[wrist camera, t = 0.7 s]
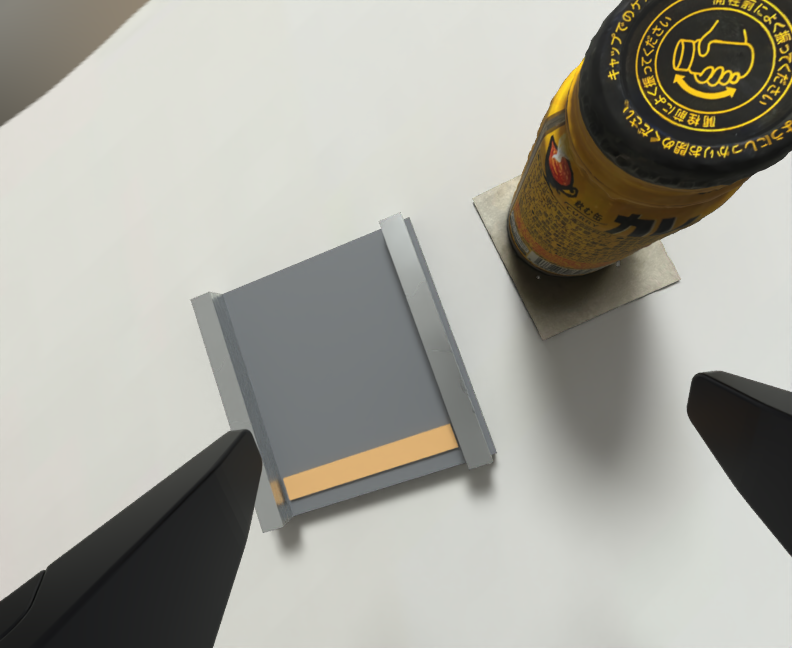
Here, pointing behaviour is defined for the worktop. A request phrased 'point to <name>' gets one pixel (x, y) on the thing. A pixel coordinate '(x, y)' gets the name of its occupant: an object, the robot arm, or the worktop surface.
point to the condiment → (642, 151)
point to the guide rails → (244, 404)
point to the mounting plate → (345, 374)
